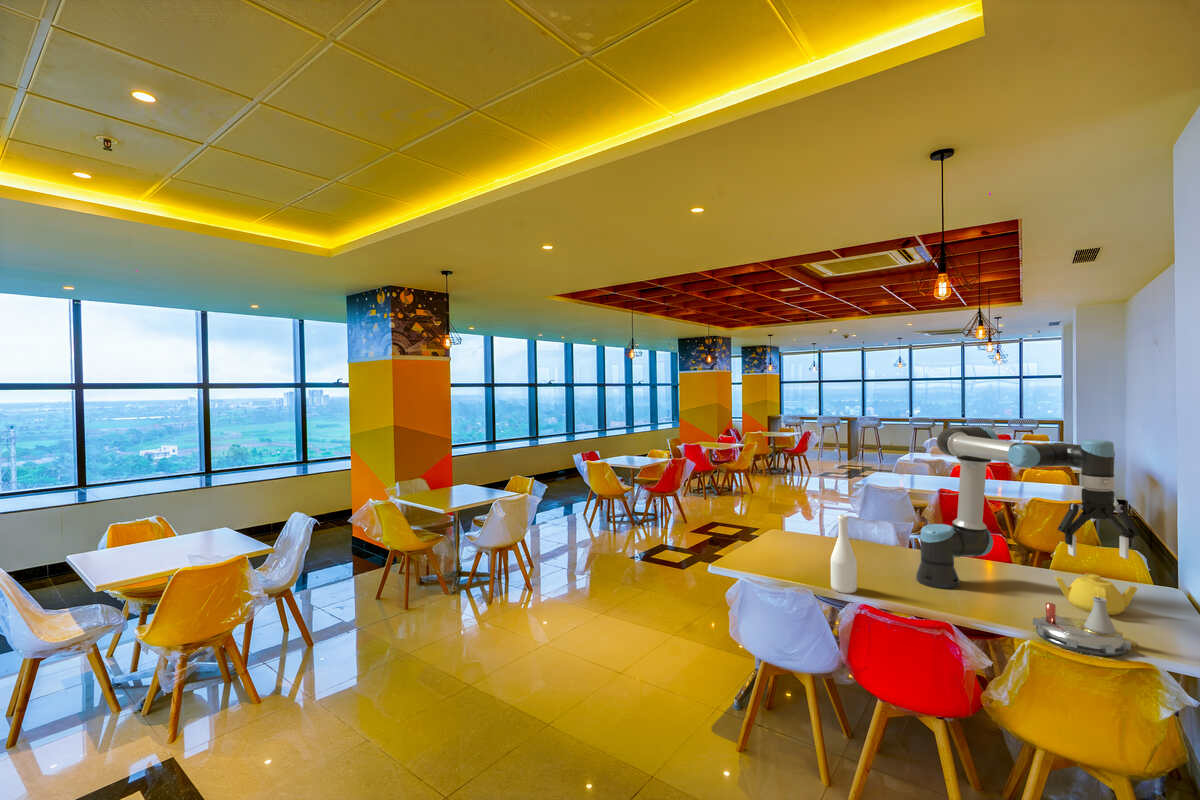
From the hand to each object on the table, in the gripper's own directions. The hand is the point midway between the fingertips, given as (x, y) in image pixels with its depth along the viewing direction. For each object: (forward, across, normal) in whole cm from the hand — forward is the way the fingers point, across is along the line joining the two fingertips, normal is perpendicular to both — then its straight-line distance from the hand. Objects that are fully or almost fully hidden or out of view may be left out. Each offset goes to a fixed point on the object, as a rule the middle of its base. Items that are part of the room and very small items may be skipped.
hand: (1097, 556), depth 165 cm
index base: (+27, -4, -1) cm, 27 cm away
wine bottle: (+27, -69, +30) cm, 79 cm away
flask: (+23, 0, -1) cm, 23 cm away
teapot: (+27, +15, +29) cm, 43 cm away
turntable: (+25, -6, -1) cm, 26 cm away
